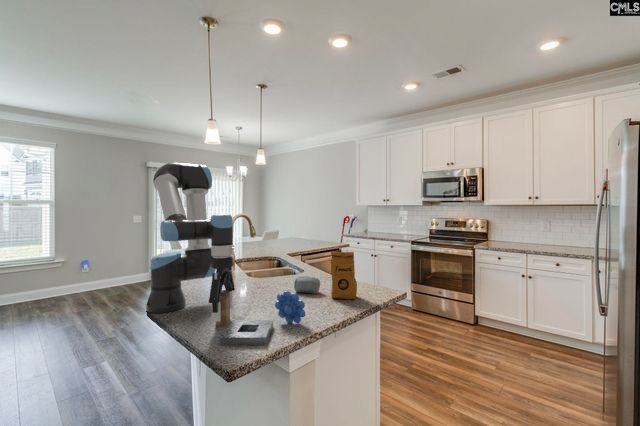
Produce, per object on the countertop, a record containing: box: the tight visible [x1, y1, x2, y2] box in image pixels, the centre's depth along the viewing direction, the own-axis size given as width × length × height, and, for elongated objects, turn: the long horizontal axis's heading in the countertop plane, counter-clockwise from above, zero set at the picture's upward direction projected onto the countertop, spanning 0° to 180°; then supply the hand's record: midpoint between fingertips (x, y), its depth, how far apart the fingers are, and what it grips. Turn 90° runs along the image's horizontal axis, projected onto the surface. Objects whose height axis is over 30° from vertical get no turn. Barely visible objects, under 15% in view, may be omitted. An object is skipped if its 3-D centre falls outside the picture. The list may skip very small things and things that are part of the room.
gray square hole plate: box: [219, 319, 274, 347], centre depth 97 cm, size 14×14×2 cm
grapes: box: [274, 290, 306, 324], centre depth 106 cm, size 12×7×12 cm, turn 79°
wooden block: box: [214, 289, 231, 327], centre depth 107 cm, size 4×4×12 cm
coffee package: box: [330, 251, 358, 300], centre depth 138 cm, size 10×12×22 cm
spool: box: [293, 275, 321, 295], centre depth 147 cm, size 14×10×10 cm
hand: (222, 314), depth 107 cm, fingers open, 13 cm apart
